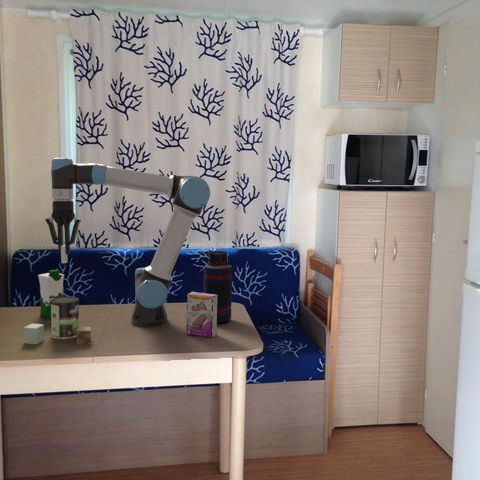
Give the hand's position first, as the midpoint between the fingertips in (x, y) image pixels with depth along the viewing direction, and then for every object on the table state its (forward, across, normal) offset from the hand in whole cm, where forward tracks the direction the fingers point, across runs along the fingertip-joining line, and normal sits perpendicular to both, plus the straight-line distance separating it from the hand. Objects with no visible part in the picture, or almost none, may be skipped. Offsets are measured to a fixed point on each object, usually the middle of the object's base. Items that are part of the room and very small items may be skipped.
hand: (64, 262), depth 205 cm
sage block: (+28, -9, -8) cm, 31 cm away
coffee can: (+29, 0, 0) cm, 29 cm away
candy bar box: (+29, +52, +4) cm, 59 cm away
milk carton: (+29, -14, +26) cm, 41 cm away
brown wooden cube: (+29, +9, -7) cm, 31 cm away
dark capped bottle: (+29, +57, +24) cm, 68 cm away
